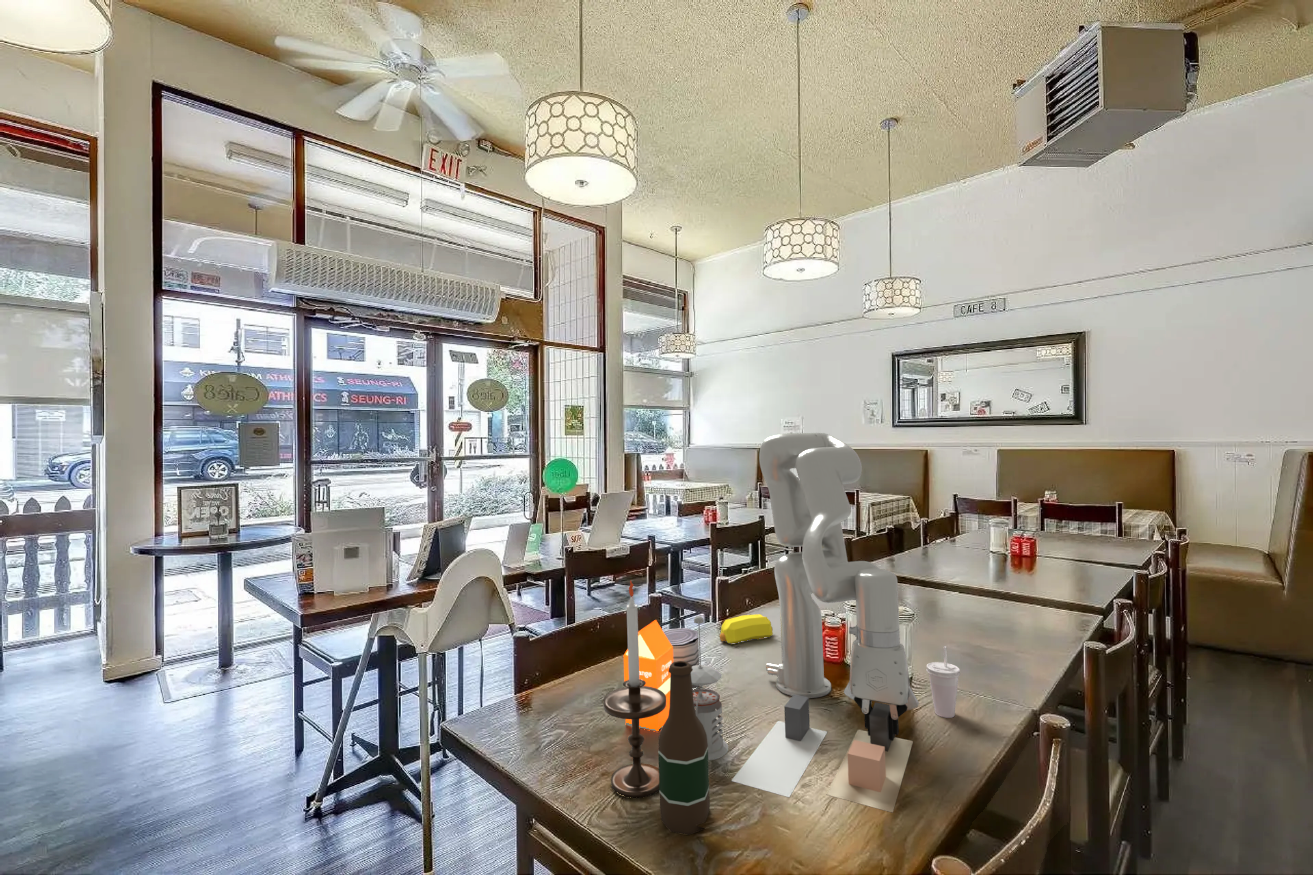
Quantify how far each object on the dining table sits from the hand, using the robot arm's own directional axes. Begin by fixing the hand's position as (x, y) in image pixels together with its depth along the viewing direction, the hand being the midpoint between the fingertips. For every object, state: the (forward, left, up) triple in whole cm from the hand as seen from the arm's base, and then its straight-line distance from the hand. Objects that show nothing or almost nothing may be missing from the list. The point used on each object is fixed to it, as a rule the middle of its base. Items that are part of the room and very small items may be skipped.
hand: (881, 734), depth 109 cm
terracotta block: (0, -14, -2) cm, 14 cm away
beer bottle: (-23, -35, -3) cm, 42 cm away
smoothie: (+9, +21, -3) cm, 23 cm away
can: (-49, +10, -3) cm, 50 cm away
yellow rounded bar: (-46, +48, -3) cm, 66 cm away
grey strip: (-15, -12, -3) cm, 20 cm away
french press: (-30, -15, -3) cm, 34 cm away
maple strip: (0, -9, -3) cm, 9 cm away
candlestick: (-35, -30, -3) cm, 46 cm away
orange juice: (-45, -9, -3) cm, 46 cm away
